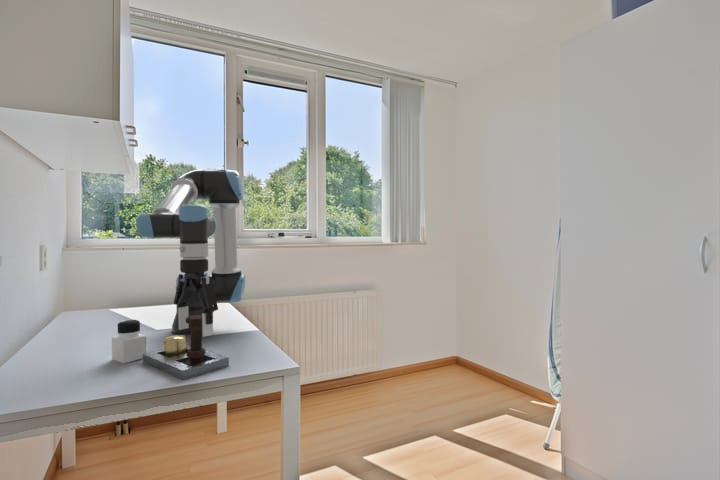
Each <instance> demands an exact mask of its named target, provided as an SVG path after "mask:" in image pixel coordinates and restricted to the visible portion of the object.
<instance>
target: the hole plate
mask: <svg viewBox="0 0 720 480" xmlns="http://www.w3.org/2000/svg"><path fill="white" fill-rule="evenodd" d="M186 340H187V339H186V335H184V334H178V335H177V334H176V335H175V334H174V335H170V336H167V337H164V338H163V349H159V350H155V351H151V352H146V353H145V354H143V359H142V363H144V364H146V365H148V366H150V367H153V368H154V369H158V370H160V371H162V372H164V373H167V374H169V375H171V376H174V377H176V378H178V379H180V380H182V381H184V380H187V379H191V378H194V377H197V376H200V375H203V374H206V373H210V372H213V371H216V370H220V369H223V368H226V367H229V366H230V357H229V356H226V355H222V354H221V353H216V352H213V351H210V350H207V349H205V355H204V356H203V357H202V363H199V364H195V365H192V366H190V364H191V363H190V358H189V357H188V356H187V351H188V350H189V349H191V347H190V344H188V343H186Z"/></svg>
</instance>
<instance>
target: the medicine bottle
mask: <svg viewBox="0 0 720 480" xmlns="http://www.w3.org/2000/svg"><path fill="white" fill-rule="evenodd" d="M145 353H147V335H144V334H141V322H140V320H137V319H125V320H122V321H119V322H118V323H117V335H116V336H112V337H111V360H113V361H116V362H118V363H121V364H123V363H124V364H128V363H130V362H131V361H132V362H135V361H139V360H143V354H145Z"/></svg>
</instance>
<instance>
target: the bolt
mask: <svg viewBox="0 0 720 480" xmlns="http://www.w3.org/2000/svg"><path fill="white" fill-rule="evenodd" d="M186 323H188V324H190V331H191V334H190V344H189V345H190V347H191V349H189V350H188V351H187V356H188V357H189V358H190V363H191V364H190V365H189V366H192V365H195V364H199V363H202V357H203V356H204V355H205V350H206V349H205V348H204V347H203V332H202V315H193V316H188V317H187V318H186Z"/></svg>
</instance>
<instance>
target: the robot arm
mask: <svg viewBox="0 0 720 480" xmlns="http://www.w3.org/2000/svg"><path fill="white" fill-rule="evenodd" d="M195 200H208V202H209V205H210V206H211V207H212V209H213V216H212V215H210V214H209V213H208V207H207V206H206V205H203V204H190V203H193V202H194V201H195ZM241 200H244V187H243V181H242V178H241V175H240V173H239V172H238V171H237V170H230V169H196V170H191V171H188V172H187V173H184V174H182V175H181V176H178V178H177V179H176V180H174V181H173V183H172V185H171V187H170V191H169V192H168V193H167V195H166V196H165V197H164V198H163V200H162V201H161V202H160V203H159V205H158V206H157V207H156V208H155V210H153V212H152V213H151V212H147V213H140V214H139V215H138V216H137V219H136V231H137V234H138V235H139V236H140V237H141V238H145V239H146V238H150V239H158V238H159V239H166V238H167V239H168V238H169V239H173V238H174V239H175V238H176V239H177V238H179V247H178V249H179V256H180V258H182V259H180V261H179V265H180V266H179V271H180V272H181V274H180V273H179V274H178V276H177V278H176V286H175V295H174V299H173V305H176V306H175V307H176V312H175V316H174V318H173V322H172V325H171V332H172V333H173V334H178V335H188V334H190V335H191V331H190V324H188V323H186V318H187V317H188V316H193V315H202V338H204V337H208V336H212V335H213V334H214V326H213V324H214V312H216V311H218V310H219V306H218V304H226V303H227V304H228V303H229V304H233V303H239V302H241V301H242V299H243V297H244V292H245V288H246V274H244V273H242V269H241V268H240V267H239V265H238V248H237V247H238V244H237V243H238V242H237V207H238V206H239V205H240V201H241ZM213 235H214V236H213ZM211 236H213V239H214V240H213V241H214V262H215V264H214V266H215V267H214V268H213V269H212V270H211V274H208V271H209V259H208V257H209V241H208V240H209V237H211Z"/></svg>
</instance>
